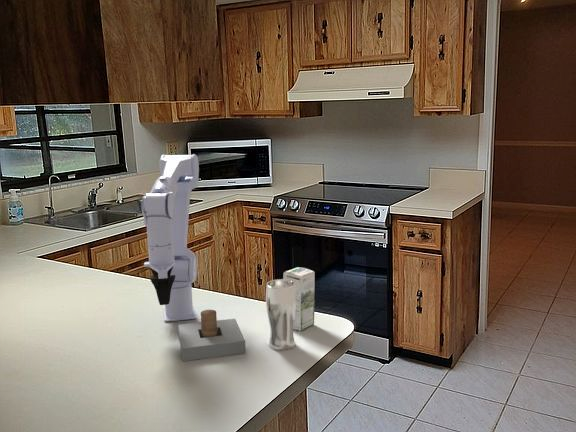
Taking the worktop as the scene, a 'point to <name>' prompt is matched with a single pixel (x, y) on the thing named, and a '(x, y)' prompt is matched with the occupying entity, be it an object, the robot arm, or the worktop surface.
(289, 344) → the beer glass
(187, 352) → the socket block
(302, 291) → the syrup box
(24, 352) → the worktop surface
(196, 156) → the robot arm
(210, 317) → the dowel
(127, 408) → the worktop surface
